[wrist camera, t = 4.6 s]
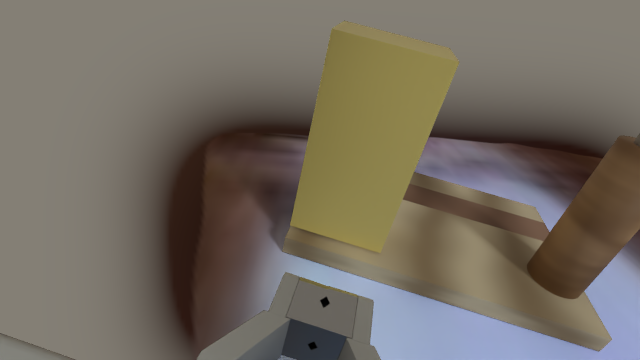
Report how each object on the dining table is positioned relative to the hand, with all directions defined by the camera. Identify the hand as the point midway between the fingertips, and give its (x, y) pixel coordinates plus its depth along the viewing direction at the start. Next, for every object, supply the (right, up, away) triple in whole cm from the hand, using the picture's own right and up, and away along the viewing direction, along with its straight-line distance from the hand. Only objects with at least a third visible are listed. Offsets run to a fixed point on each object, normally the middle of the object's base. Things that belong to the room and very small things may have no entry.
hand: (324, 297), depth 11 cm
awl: (+16, -3, +12) cm, 20 cm away
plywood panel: (+8, 0, +16) cm, 18 cm away
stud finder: (+1, +1, +12) cm, 12 cm away
